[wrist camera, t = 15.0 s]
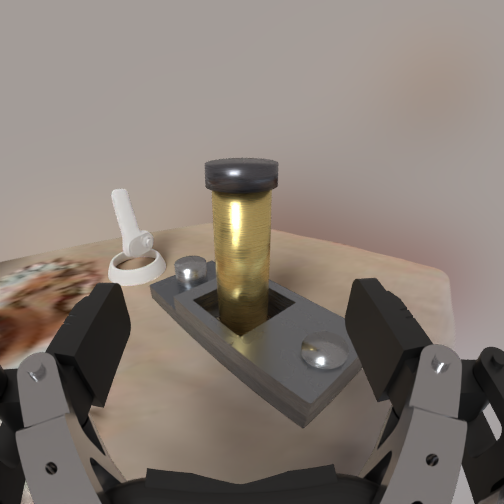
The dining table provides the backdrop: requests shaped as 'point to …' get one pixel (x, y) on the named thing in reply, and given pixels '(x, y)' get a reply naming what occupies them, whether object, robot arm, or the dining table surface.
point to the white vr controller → (133, 246)
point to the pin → (242, 238)
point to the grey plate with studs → (266, 341)
